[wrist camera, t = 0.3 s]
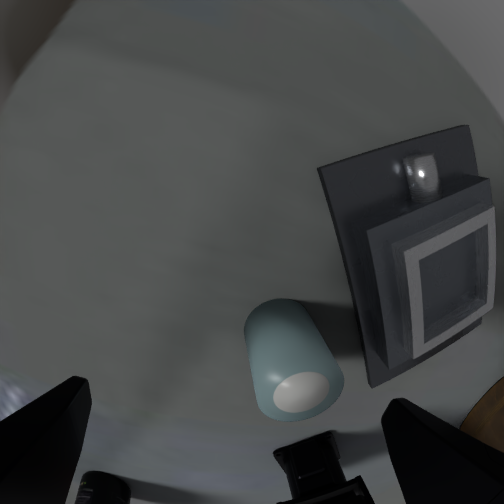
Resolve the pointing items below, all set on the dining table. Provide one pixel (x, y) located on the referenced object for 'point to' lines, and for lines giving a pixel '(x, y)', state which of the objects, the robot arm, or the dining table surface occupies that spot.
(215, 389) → the dining table surface
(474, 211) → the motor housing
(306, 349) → the cylinder
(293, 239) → the dining table surface
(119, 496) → the supplement bottle
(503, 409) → the wooden container
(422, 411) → the robot arm
